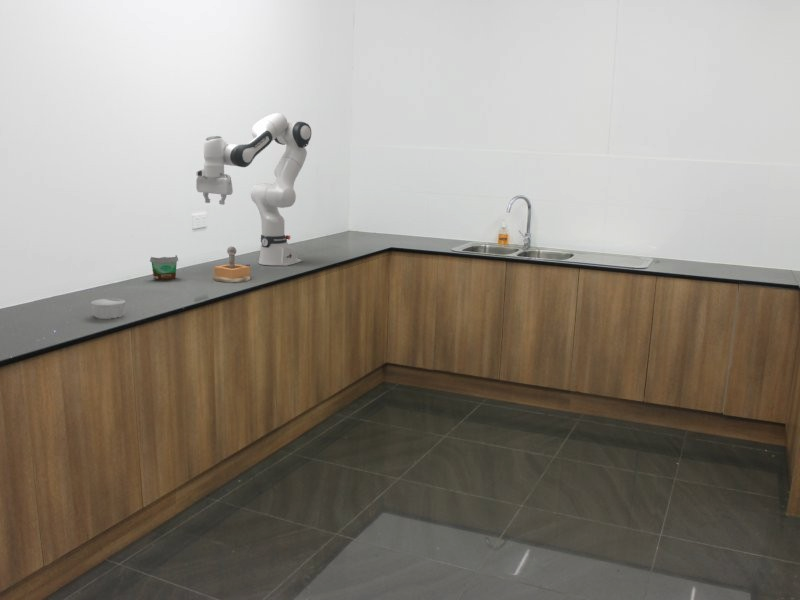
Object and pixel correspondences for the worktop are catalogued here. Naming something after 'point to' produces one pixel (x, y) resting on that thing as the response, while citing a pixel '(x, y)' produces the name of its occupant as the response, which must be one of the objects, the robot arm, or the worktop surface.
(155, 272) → the food container
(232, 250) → the round peg stand
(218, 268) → the orange square frame
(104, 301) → the ramekin
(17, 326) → the worktop surface
